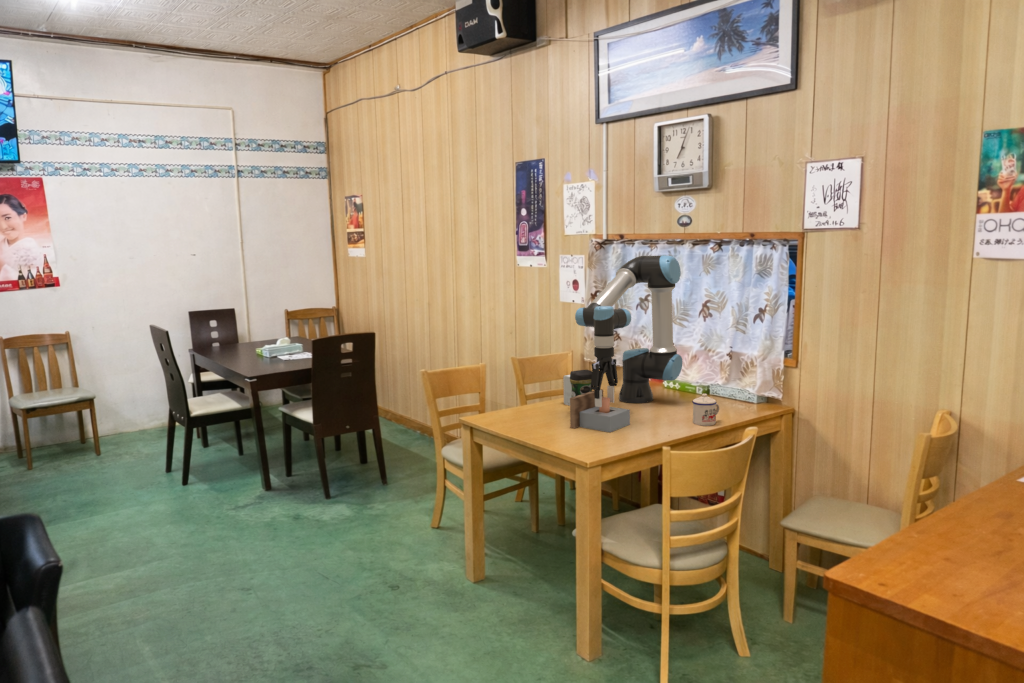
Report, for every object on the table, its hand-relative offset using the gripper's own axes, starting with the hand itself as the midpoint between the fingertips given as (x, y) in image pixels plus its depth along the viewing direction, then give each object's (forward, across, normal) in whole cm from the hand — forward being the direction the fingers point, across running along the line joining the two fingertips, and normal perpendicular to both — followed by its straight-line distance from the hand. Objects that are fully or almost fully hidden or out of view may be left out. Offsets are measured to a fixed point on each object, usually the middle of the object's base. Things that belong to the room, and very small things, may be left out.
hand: (604, 404), depth 279 cm
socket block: (+9, 0, 0) cm, 9 cm away
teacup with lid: (+9, -27, +30) cm, 41 cm away
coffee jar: (+9, -12, -19) cm, 24 cm away
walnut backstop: (+9, 0, -8) cm, 12 cm away
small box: (+9, -25, -32) cm, 42 cm away
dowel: (+7, 0, 0) cm, 7 cm away
